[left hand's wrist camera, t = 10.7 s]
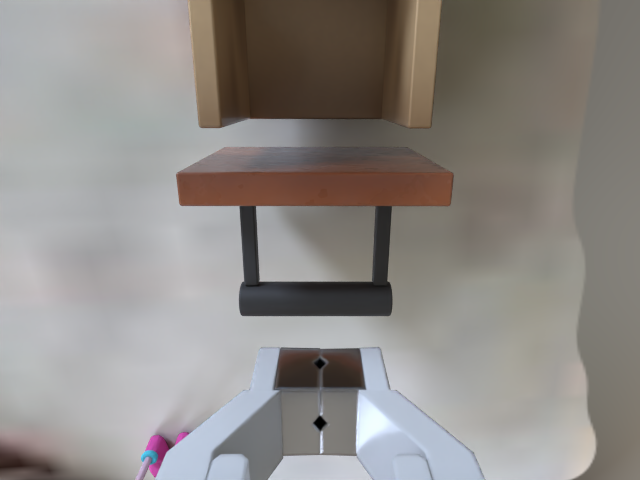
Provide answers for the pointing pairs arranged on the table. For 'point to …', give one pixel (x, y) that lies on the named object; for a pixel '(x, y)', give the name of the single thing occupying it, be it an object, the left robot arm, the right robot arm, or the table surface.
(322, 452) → the left robot arm
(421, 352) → the table surface
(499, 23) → the table surface
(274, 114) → the drawer
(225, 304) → the table surface
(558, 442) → the table surface
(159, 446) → the toy
